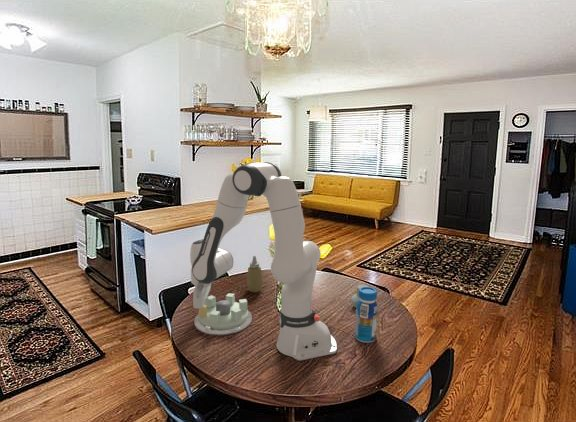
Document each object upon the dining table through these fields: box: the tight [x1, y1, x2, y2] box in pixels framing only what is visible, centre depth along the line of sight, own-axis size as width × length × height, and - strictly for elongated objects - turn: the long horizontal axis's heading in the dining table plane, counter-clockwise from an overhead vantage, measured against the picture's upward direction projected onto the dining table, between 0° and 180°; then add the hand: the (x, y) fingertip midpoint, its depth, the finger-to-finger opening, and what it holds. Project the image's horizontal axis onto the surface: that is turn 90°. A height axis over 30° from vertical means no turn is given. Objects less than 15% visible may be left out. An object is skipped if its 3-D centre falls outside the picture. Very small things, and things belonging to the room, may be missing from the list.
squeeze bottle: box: [246, 255, 263, 293], centre depth 184 cm, size 8×8×18 cm
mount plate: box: [193, 310, 253, 336], centre depth 155 cm, size 24×24×3 cm
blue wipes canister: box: [354, 286, 379, 344], centre depth 142 cm, size 8×8×20 cm
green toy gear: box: [197, 293, 249, 330], centre depth 155 cm, size 21×21×6 cm
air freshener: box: [350, 284, 370, 309], centre depth 168 cm, size 11×8×10 cm
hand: (202, 308), depth 155 cm, fingers closed
